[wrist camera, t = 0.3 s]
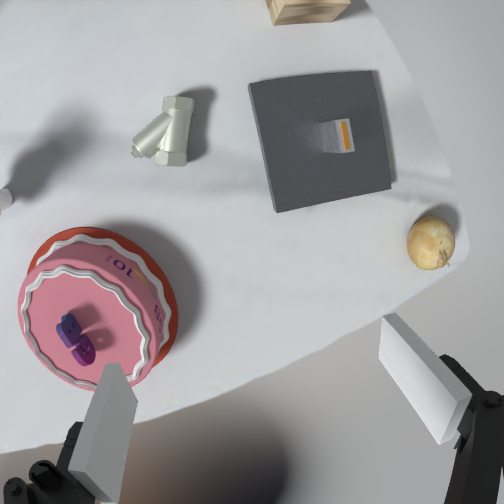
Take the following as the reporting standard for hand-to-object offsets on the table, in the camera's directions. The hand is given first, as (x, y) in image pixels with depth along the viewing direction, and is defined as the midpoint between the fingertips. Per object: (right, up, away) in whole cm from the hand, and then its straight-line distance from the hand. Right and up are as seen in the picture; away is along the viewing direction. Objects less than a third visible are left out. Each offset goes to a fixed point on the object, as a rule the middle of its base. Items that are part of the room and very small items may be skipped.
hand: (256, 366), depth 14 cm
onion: (+26, +8, +30) cm, 40 cm away
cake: (-23, -3, +28) cm, 36 cm away
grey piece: (+9, +20, +23) cm, 32 cm away
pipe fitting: (-11, +20, +21) cm, 31 cm away
